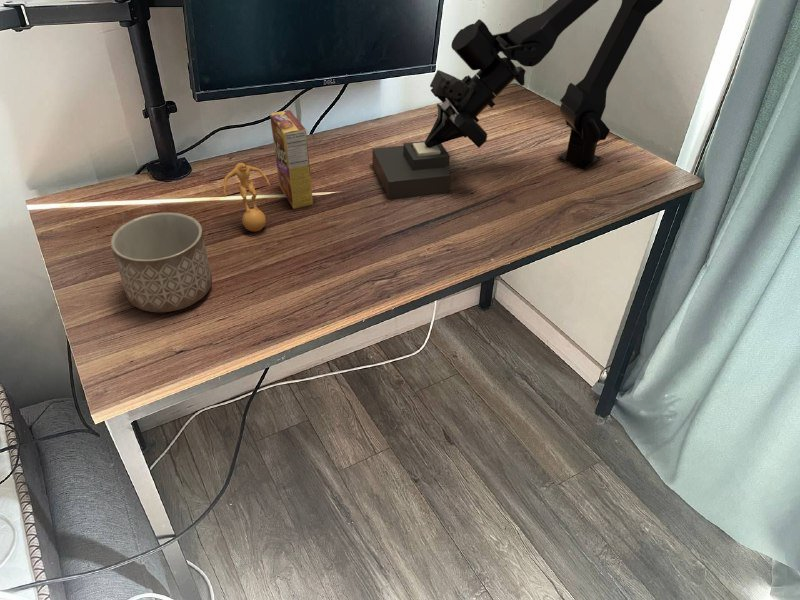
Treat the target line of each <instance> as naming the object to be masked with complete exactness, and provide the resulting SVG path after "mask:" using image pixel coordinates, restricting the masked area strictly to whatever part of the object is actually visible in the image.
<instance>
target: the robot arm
mask: <svg viewBox="0 0 800 600" xmlns="http://www.w3.org/2000/svg"><path fill="white" fill-rule="evenodd" d="M599 1H600V0H556V1H555V2H554V3H552V4H551V5H550V6H549V7H548V8H546V10H544V11H542V12H541V13H539V14H537V15H534V16H531V17H528V18H526V19H525V20H523V21H522V22H520V23H518V24H517V25H515V26H514V27H513V28H511V29H510V30H509V31H505V32H500V33H495V34H493V33H492V32H491V31H490V29H489V27H488V26H487V24H486V23H485V22H484V21H483V20H481V19H476V21H475V23H471V24H468V25H467V26H465V27H464V28H461V29H460V30H459V31H458V32H457V33H456V34H455V36H453V39H452V41H451V49H452V50H453V51H454V53H455V54H456V55H457V56H459V58H460V59H461V60H462V61H463V63H465V64H466V66H467V67H468V68H469V69H470V70H472V71H477V72H476V73H475V74H474V75H473V76H472V77H471V76H470V75H465V76H464V77H463V78H462V79H460V78H458V77H456V76H454V75H452V74H449V73H446V72H444V71H443V70H439V69H437V70H436V72H435V74H434V76H433V79H432V80H431V82H430V84H429V87H430V88H431V89H430V92H431V93H432V94H433V96H434V97H435V98H437V99H438V100H439V101H440V102H441V104H439V102H438V103H436V107H437V116H436V119H435V122H434V124H433V126H432V128H431V129H430V131H429V133H428V135H427V137H426V139H425V140H424V141H425V145H426V146H427V147H428V148H430V147H433V146H436V145H438V144H444V143H446V142H450V141H452V140H453V141H454V140H456V139H460V138H468V139H469V140H470V141H471V142H472V143H473V144H474V145H475V146H476V147H477V148H479V149H480V148H481V147H482V146H483V145H484V144H485V143H486V142H487V140H488V133H487V132H486V131H485V129H484V128H483V127H482V125H480V123H478V122H479V121H480V119H479V118H478V117H479V115H480V114H481V113H482V112H484V110H485V109H486V108H487V107H488V106H489V107H490V108H491V109H493V107H495V106H496V103H495V102H494V100H495V99H496V98H497V97H498V96H499V95H500V94H501V93H502V92H503V91H504V90H505V89H506V88H507V87H508V86H509V85H510V84H511V83H512V82H513V81H515V82H517V83H518V84H519V85H520V86H524V85H525V74H526V72H527V71H526V69H525V68H524V67H530V68H533V67H535V66H537V65H538V64H539V63H541V62H542V61H543V59H544V58H545V57H546V56H547V55H548V54H549V53H550V52H551V51H552V50H553V48H554V46H555V44H556V41H557V40H558V38H559V37H560V35H561V34H562V33H563V32H564V31H565V30H567V29H568V28H569V26H571V25H572V24H573V23H575V21H577V20H578V19H579V18H581V16H582V15H584V14H585V13H586V12H587V11H589V10H590V9H591V8H592V7H593V6H594V5H596V4H597V3H598V2H599ZM663 1H664V0H621V4H620V7H619V9H618V11H617V13H616V15H615V16H614V19H613V21H612V23H611V24H610V26H609V29H608V30H607V32H606V34H605V36H604V38H603V41H602V42H601V44H600V47H599V48H598V50H597V52H596V54H595V56H594V58H593V60H592V62H591V64H590V65H589V68H588V70H587V72H586V74H585V76H584V77H583V79H581V80H579V82H577V83H576V84H575V83H572V82H569V84H568V85H567V88H566V90H565V93H564V95H563V97H561V98H560V100H559V102H560V103H561V104H560V107H559V111H560V115H561V117H562V118H563V119H564V120H565V121H564V122H565V125H566V126H567V127H569V128H570V134H569V138H568V144H567V149H566V152H564V153H562V154H561V155H559V157H558V160H560V161H562V162H564V163H568V164H570V165H573V166H575V167H578V168H581V169H583V170H586V169H588V168H590V167H591V166H594V164H596V163H597V162H599V161H601V159H602V157H601V156H599V155H597V154H596V151H597V147H598V144H599V142H601V141H605V140H606V139H607V137H608V135H609V134H610V131H611V129H610V128H609V127H608V126H607V125H606V124H605V122H604V121H603V120H602V117H603V114H604V112H605V109H606V107H607V91H608V88H609V87H610V84H611V82H612V80H613V79H614V76H615V75H616V73H617V72H618V70H619V67H620V65H621V63H622V62H623V59H624V58H625V56H626V54H627V52H628V50H629V48H630V47H631V45H632V44H633V41H634V39H635V36H637V34H638V31H639V30H640V28H641V26H642V24H643V22H644V21H645V18H646V17H647V16H648V14H650V13H651V12H652V11H654V10H655V9H656V8H657V7H658V6H659V5H661V4H662V3H663ZM500 53H501V54H503V55H504V57H501V56H500ZM513 61H515V62H518V63H519V64H520V66H517V65H516V64H515V63H514V62H513ZM522 66H523V67H522Z"/></svg>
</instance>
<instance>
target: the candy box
mask: <svg viewBox="0 0 800 600" xmlns="http://www.w3.org/2000/svg"><path fill="white" fill-rule="evenodd" d="M269 119H270V127H271V133H272V141H273V147H274V148H273V149H274V155H275V156H274V157H275V163H276V170H277V171H276V172H277V177H278V184H279V188H280V190H281V191H282V193H283V194H284V196H285V197H286V199H287V201H288V202H289V204H290V205H291V207H292V209H293V210H297V209H300V208H304V207H308V206H309V207H310V206H313V205H314V200H313V199H314V198H313V188H312V178H311V177H312V176H311V167H310V155H309V146H308V135H307V129H306V127H305V126H304V125H303V124H302V123H301V122H300V120H298V118H297V117H296V116H295V115H294V113H293V112H292V110H291V109H287V110H282V111H276V112H272V113H269Z"/></svg>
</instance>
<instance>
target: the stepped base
mask: <svg viewBox="0 0 800 600" xmlns="http://www.w3.org/2000/svg"><path fill="white" fill-rule="evenodd" d="M425 141H426V140H421V141H413V142H404V143H403V145H396V146H385V147H374V148H372V154H371V155H372V167H373V169H374V172H375V174H376V176H377V178H378V180H379V182H380V185H381V186H382V189H383V191H384V193H385V195H386V197H387V200H397V199H406V198H407V199H408V198H414V197H423V196H432V195H441V194H449V193H450V185H451V174H450V172H449V170H448V169H447V167H450V162H451V161H450V159H451V155H450V154H449V153H448V151H447V150H446V148H445V147H444V145H443V143H441V144H438V145H437V147H438V148H439V150H440V151H441V153H440V154H438V155H428V156H418V157H417V155H416V153H415V151H414V150H413V143H422V142H425Z"/></svg>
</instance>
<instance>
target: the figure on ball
mask: <svg viewBox="0 0 800 600" xmlns="http://www.w3.org/2000/svg"><path fill="white" fill-rule="evenodd" d="M251 172H258V173H259V174H260V175H261V177H262V178H263V179H264V180H266V183H267V184H268V186H269V187H270V186H271V183H270V179H268V177H267V176H266V175H265V174H264V173H263V171H262V170H261V168H258V167H255V166H252V165H246V163H243V162H238V163H236V165H235V166H234V168H233V169H232V170H231V171H230V172H229V173H228V174H226V175H225V176H224V179H223V191H222V195H223V197H225V198H227V195H228V193H227V191H226V190H227V187H228V179H230V178H232V177H233V176H235V175H236V177H237V178H238V180H239V181H240V183H239V184H238V185H237V188H238V191H239V194H240V196H241V198H242V202H243V204H244V207H245V212H244V213H243V215H242V219H241V220H242V225H243V227H244V228H245V229H246V230H248V231H250V232H259V231H261V230H262V229H263V228H264V227H265V226H266V222H267V219H266V216H265V213H264V212H263V211H262V210H260V209H259V208H258V206H257V204H256V201H255V200H256V198H257V195H258V194H257V191H256V188H255V186H254V185H255V184H254V182H253V181H252V180H251V181H249V180H250V175H251ZM247 190H248V191H247ZM248 192H249V193H250V194H252V195H251V197H250V199H251V203H252V207H253V208H250V207H249V205H248V202H247V201H248V199H247V194H248Z"/></svg>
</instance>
